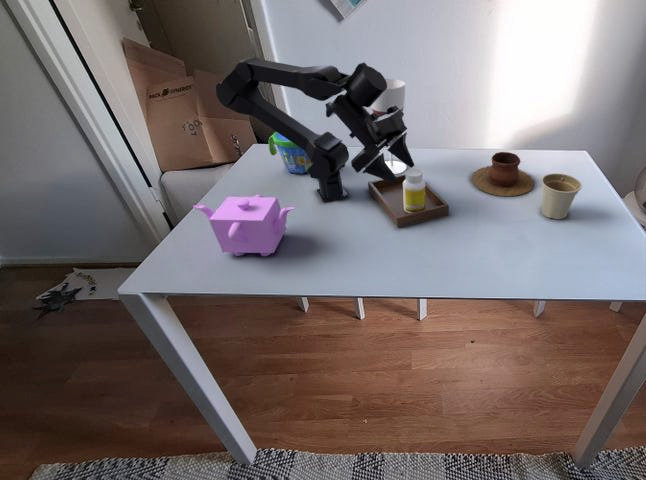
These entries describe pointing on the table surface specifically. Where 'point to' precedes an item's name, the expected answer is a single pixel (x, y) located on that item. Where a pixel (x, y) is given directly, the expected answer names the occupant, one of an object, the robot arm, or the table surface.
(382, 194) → the tray
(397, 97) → the wineglass
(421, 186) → the supplement bottle
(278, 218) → the teapot
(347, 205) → the table surface
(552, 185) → the flower pot
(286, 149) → the snack cup
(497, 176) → the ceramic pot
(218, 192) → the table surface
